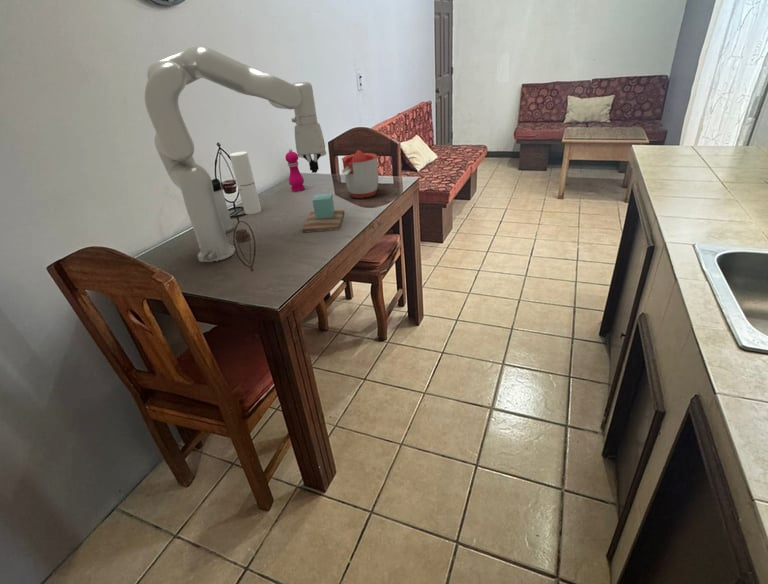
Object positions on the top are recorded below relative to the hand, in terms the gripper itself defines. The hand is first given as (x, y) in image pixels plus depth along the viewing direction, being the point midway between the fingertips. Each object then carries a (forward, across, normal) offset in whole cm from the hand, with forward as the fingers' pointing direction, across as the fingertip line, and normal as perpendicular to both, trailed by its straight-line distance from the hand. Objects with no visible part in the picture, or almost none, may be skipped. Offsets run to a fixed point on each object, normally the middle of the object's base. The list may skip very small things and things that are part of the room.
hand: (314, 171), depth 160 cm
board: (+19, +1, -3) cm, 20 cm away
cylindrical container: (+20, -34, +16) cm, 42 cm away
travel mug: (+20, -39, -5) cm, 44 cm away
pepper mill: (+19, -19, +44) cm, 51 cm away
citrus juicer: (+19, +14, +28) cm, 37 cm away
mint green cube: (+18, +1, +1) cm, 18 cm away
